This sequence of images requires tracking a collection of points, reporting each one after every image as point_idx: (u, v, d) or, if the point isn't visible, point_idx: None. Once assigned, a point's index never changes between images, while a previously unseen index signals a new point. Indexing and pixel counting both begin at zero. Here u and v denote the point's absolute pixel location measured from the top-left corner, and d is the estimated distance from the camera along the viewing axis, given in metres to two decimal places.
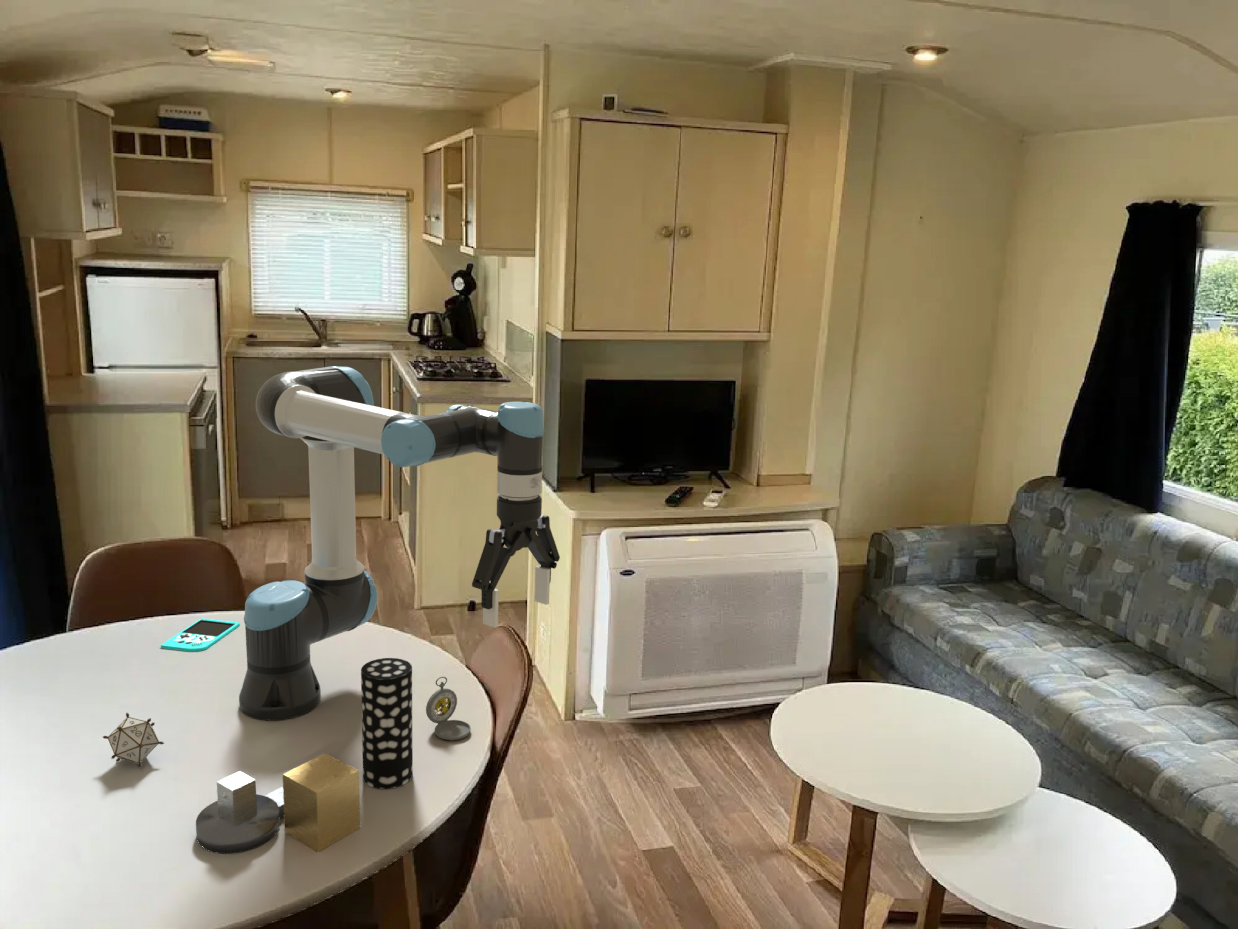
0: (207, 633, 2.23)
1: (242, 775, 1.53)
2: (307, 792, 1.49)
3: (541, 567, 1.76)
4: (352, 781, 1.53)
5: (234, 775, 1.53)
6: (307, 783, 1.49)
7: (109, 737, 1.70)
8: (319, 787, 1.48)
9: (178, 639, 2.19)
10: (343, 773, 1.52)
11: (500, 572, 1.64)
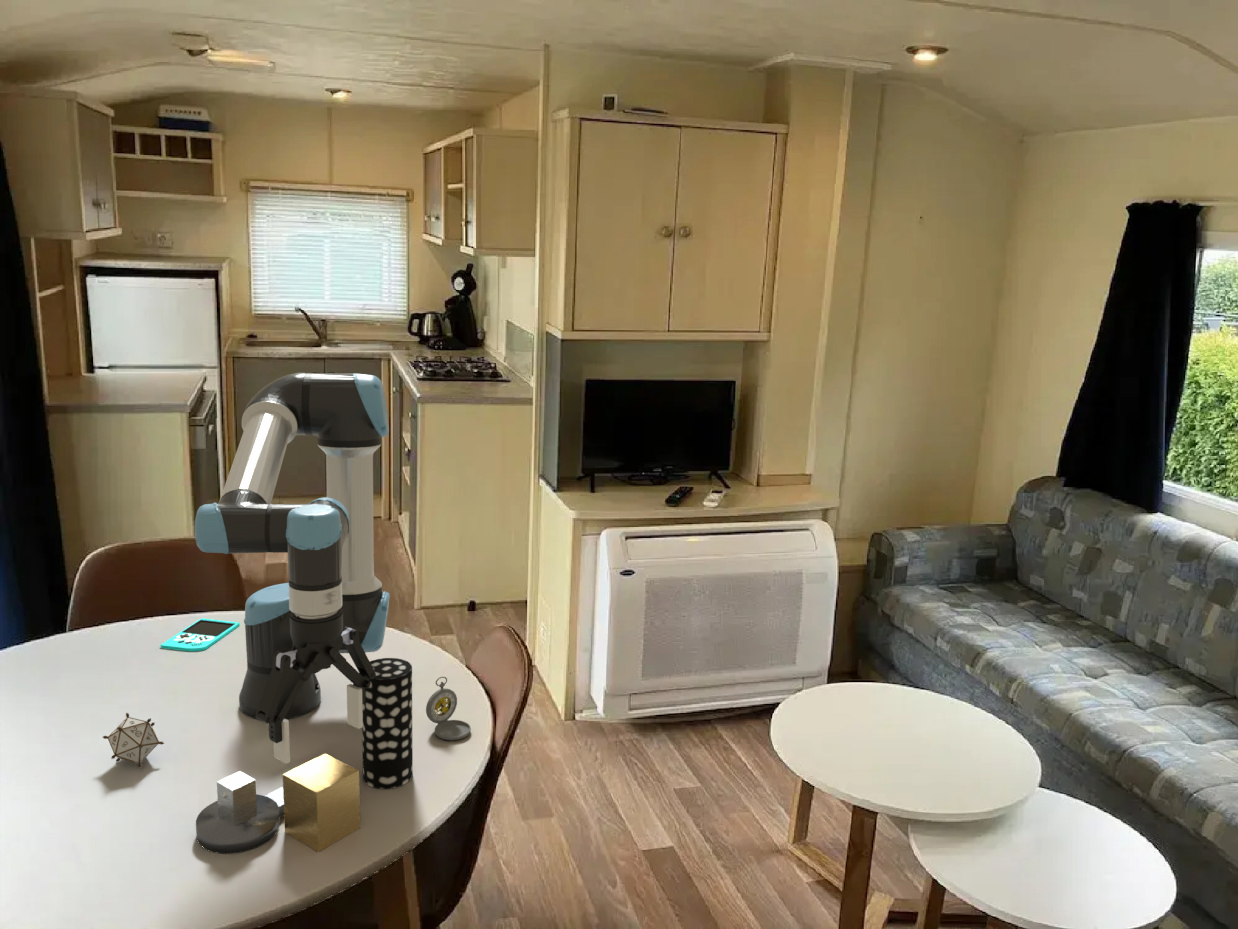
0: (207, 633, 2.23)
1: (242, 775, 1.53)
2: (307, 792, 1.49)
3: (353, 686, 1.55)
4: (352, 781, 1.53)
5: (234, 775, 1.53)
6: (307, 783, 1.49)
7: (109, 737, 1.70)
8: (319, 787, 1.48)
9: (178, 639, 2.19)
10: (343, 773, 1.52)
11: (290, 700, 1.44)
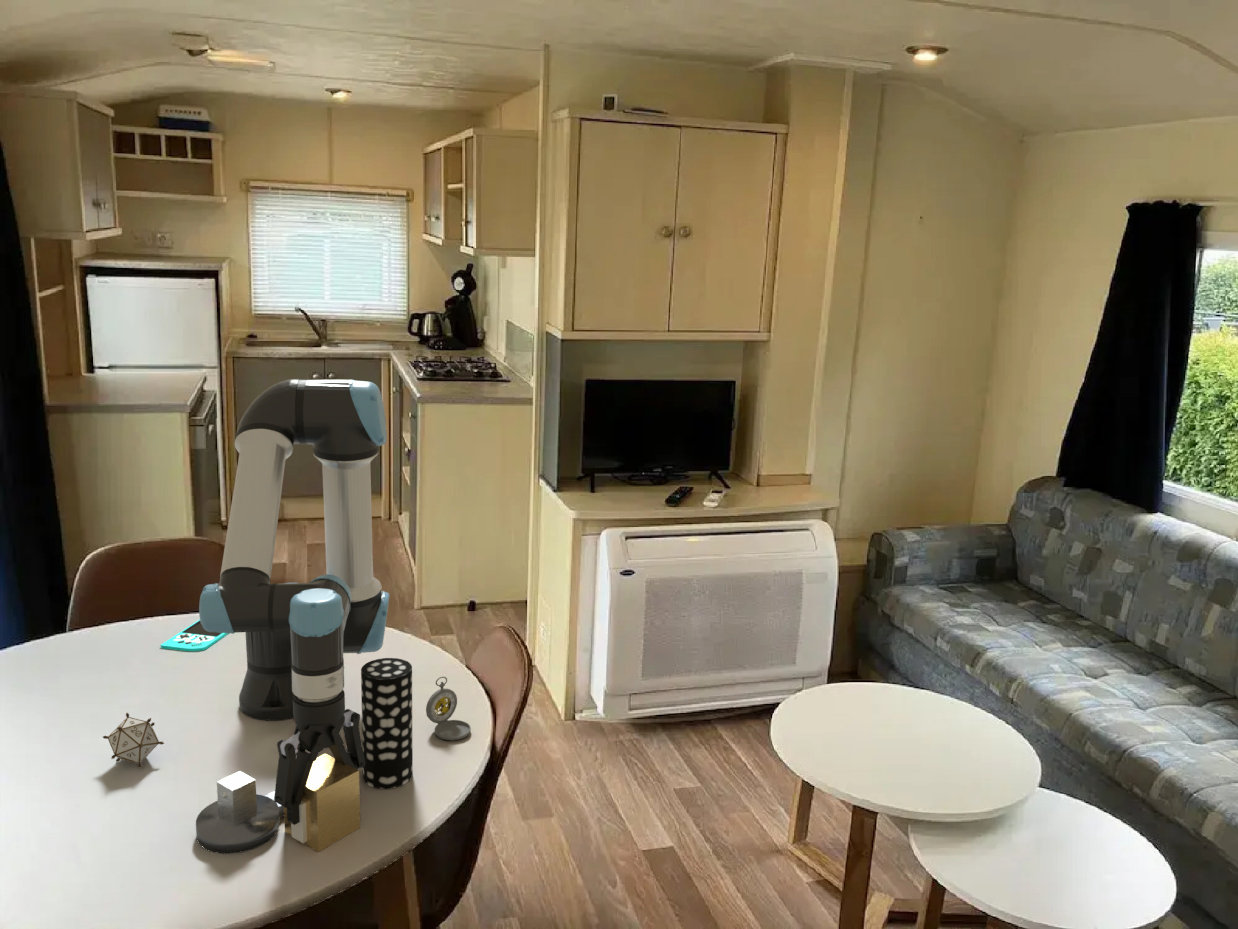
0: (207, 633, 2.23)
1: (242, 775, 1.53)
2: (307, 792, 1.49)
3: None
4: (352, 781, 1.53)
5: (234, 775, 1.53)
6: (307, 783, 1.49)
7: (109, 737, 1.70)
8: (319, 787, 1.48)
9: (178, 639, 2.19)
10: (343, 773, 1.52)
11: (303, 783, 1.48)
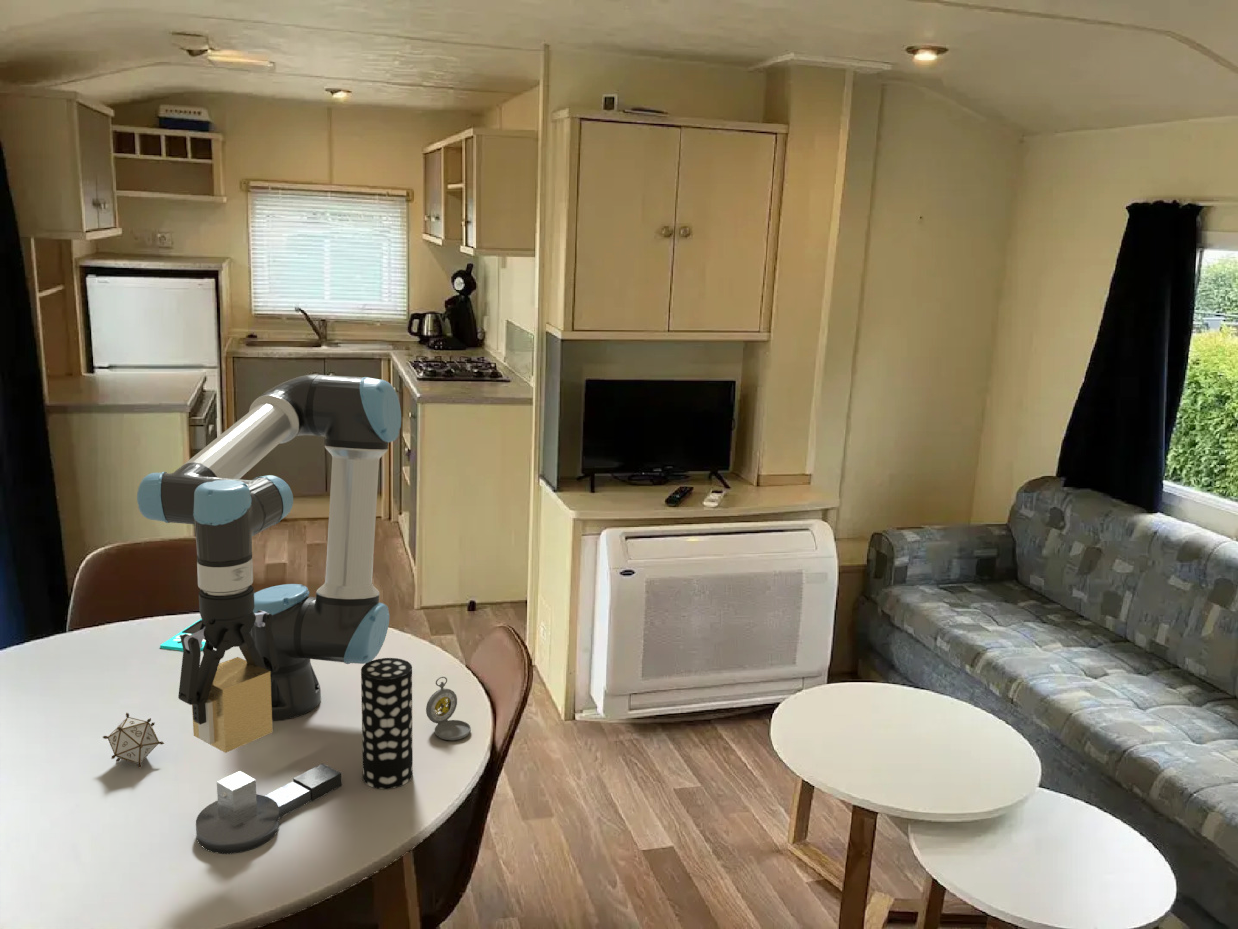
0: None
1: (242, 775, 1.53)
2: (213, 690, 1.44)
3: None
4: (262, 682, 1.48)
5: (234, 775, 1.53)
6: (214, 681, 1.45)
7: (109, 737, 1.70)
8: (226, 685, 1.44)
9: (177, 639, 2.19)
10: (253, 673, 1.48)
11: (209, 681, 1.44)
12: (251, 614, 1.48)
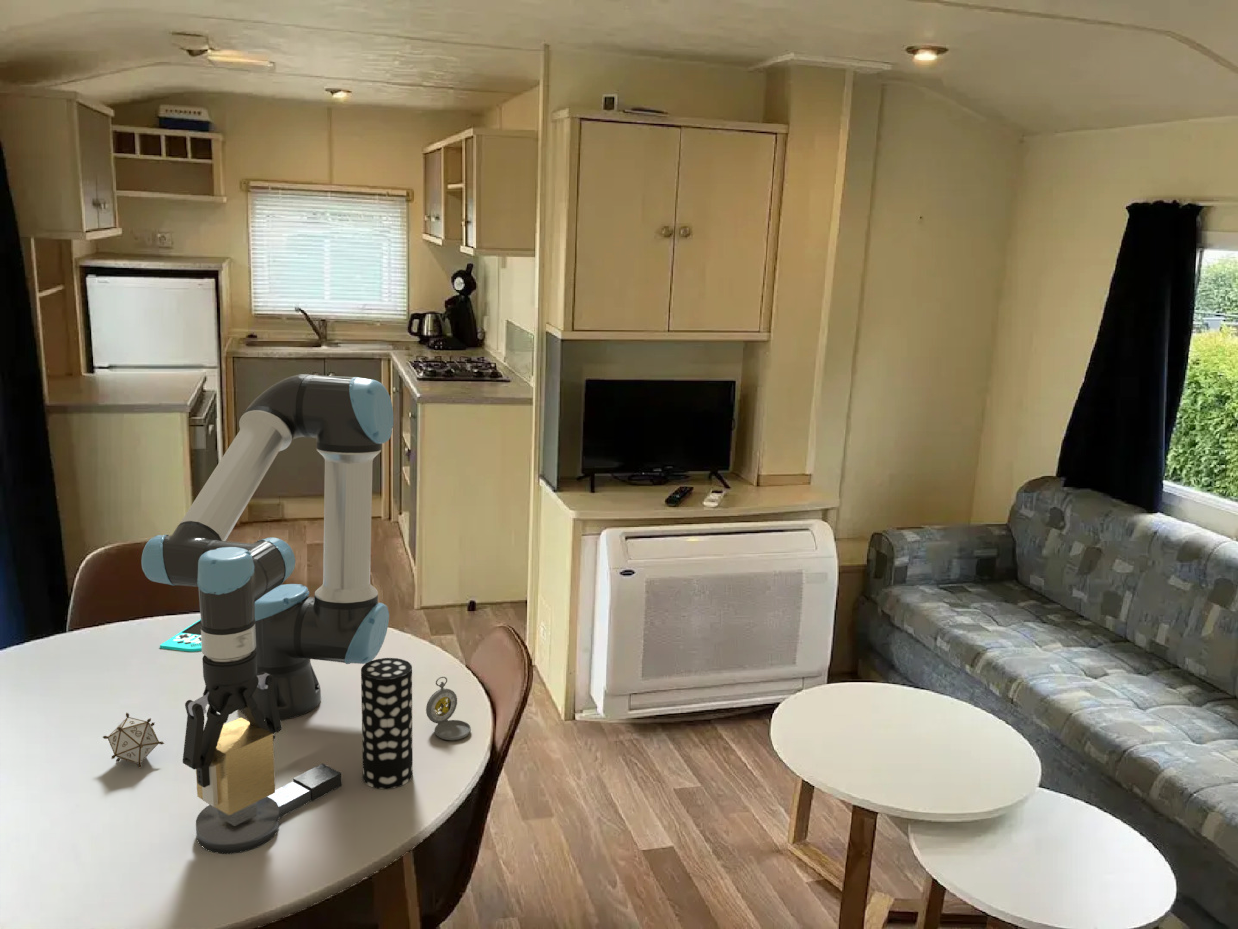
0: None
1: None
2: (217, 754, 1.46)
3: None
4: (265, 744, 1.50)
5: None
6: (218, 745, 1.47)
7: (109, 737, 1.70)
8: (229, 749, 1.46)
9: (177, 639, 2.19)
10: (256, 736, 1.50)
11: (213, 745, 1.46)
12: (254, 677, 1.50)
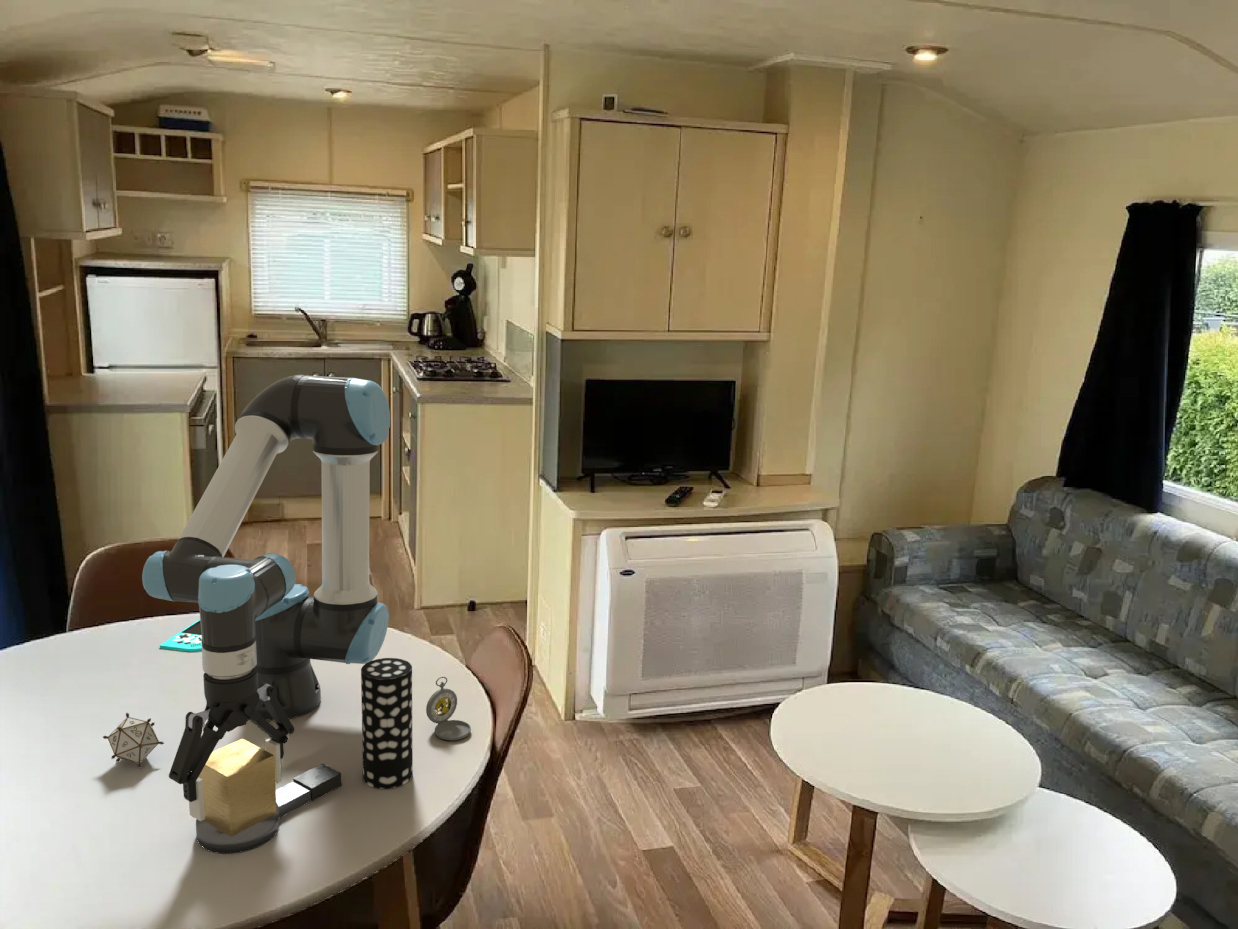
0: None
1: None
2: (219, 776, 1.47)
3: (271, 741, 1.57)
4: (266, 766, 1.51)
5: None
6: (219, 767, 1.48)
7: (109, 737, 1.70)
8: (231, 771, 1.47)
9: (177, 639, 2.19)
10: (257, 758, 1.51)
11: (204, 760, 1.45)
12: (253, 694, 1.51)
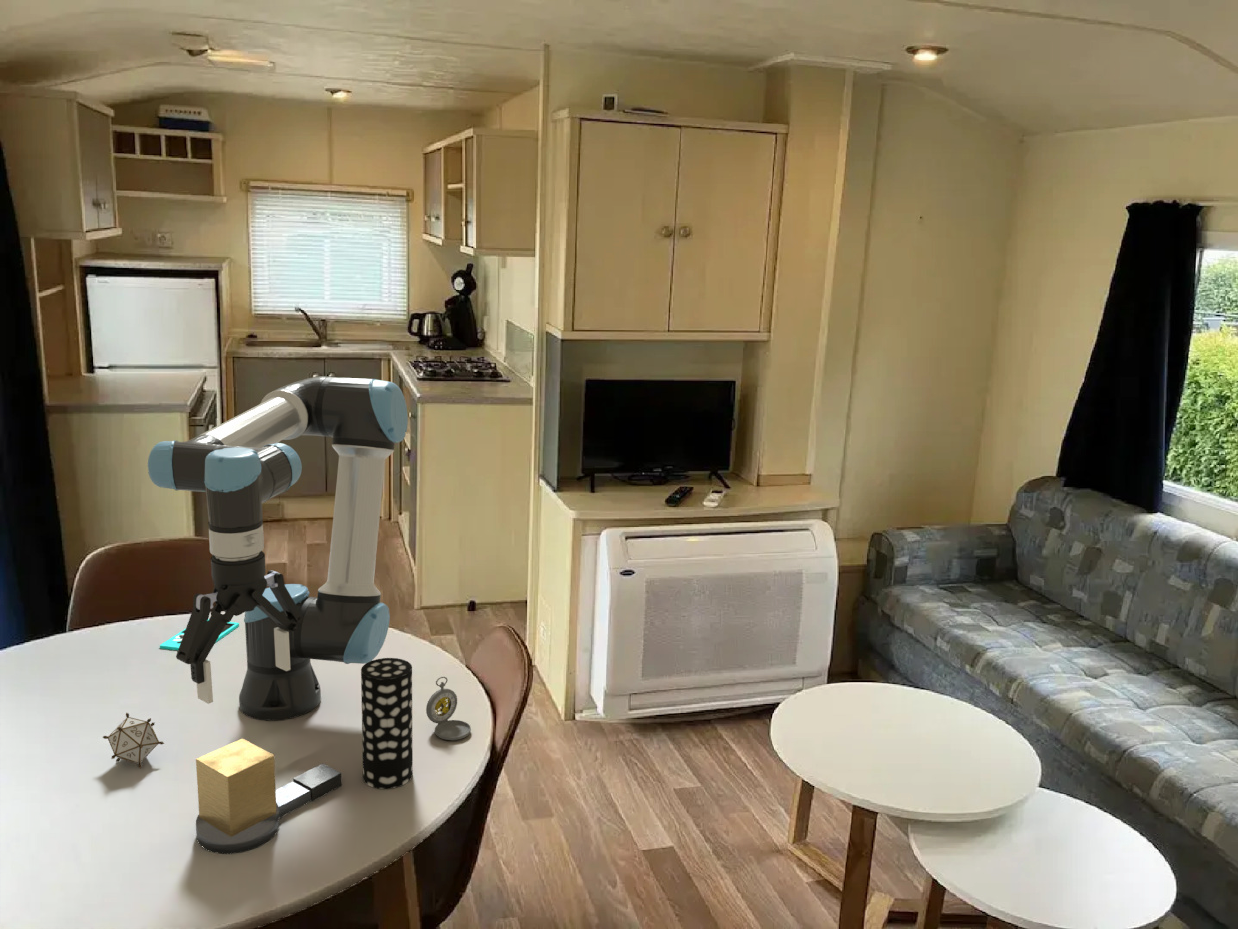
0: None
1: None
2: (219, 776, 1.47)
3: (280, 629, 1.56)
4: (266, 766, 1.51)
5: None
6: (219, 767, 1.48)
7: (109, 737, 1.70)
8: (231, 771, 1.47)
9: (177, 639, 2.19)
10: (257, 758, 1.51)
11: (211, 642, 1.45)
12: (261, 580, 1.50)
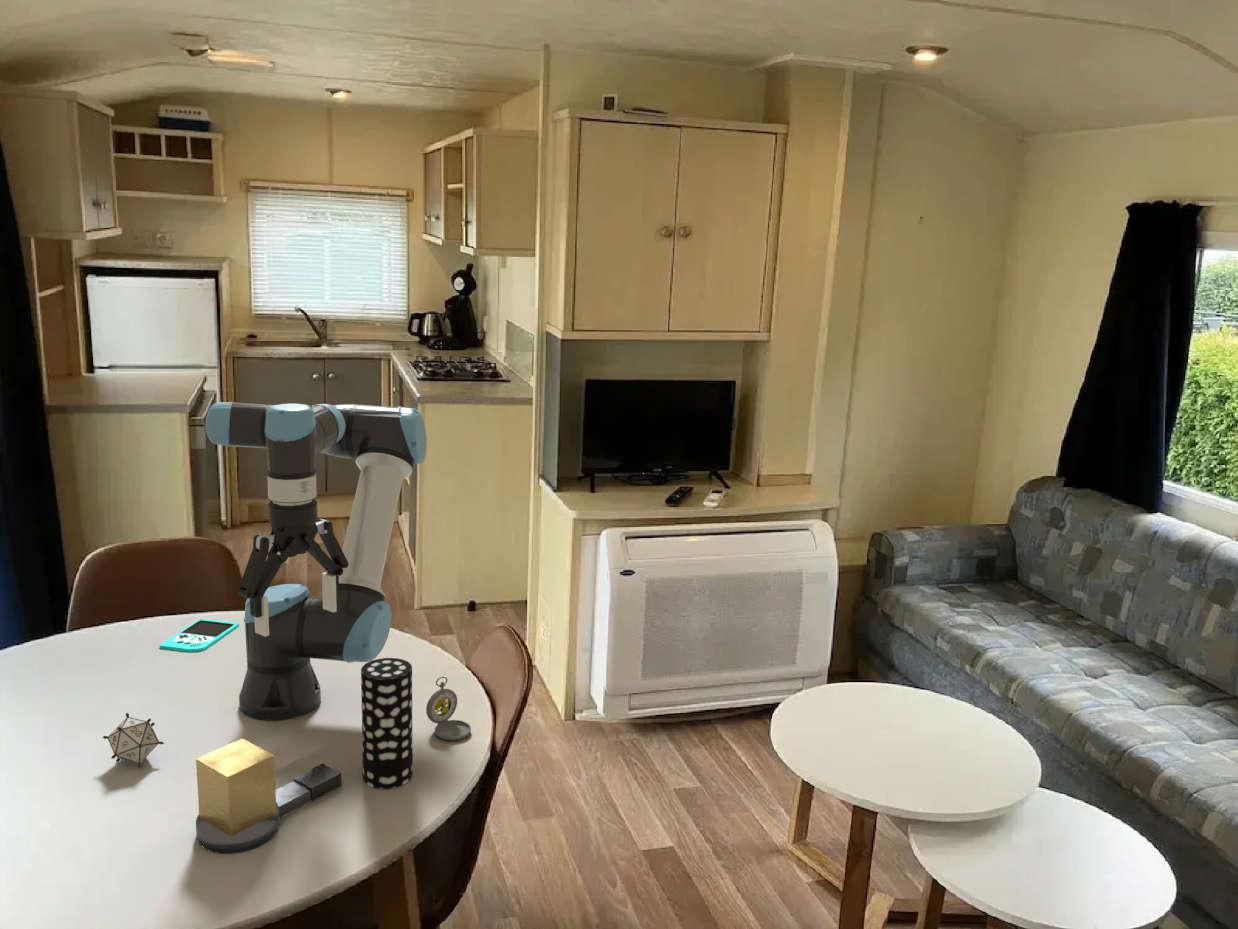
0: (206, 633, 2.23)
1: None
2: (219, 776, 1.47)
3: (328, 574, 1.71)
4: (266, 766, 1.51)
5: None
6: (219, 767, 1.48)
7: (109, 737, 1.70)
8: (231, 771, 1.47)
9: (177, 639, 2.19)
10: (257, 758, 1.51)
11: (269, 579, 1.59)
12: (313, 525, 1.65)
